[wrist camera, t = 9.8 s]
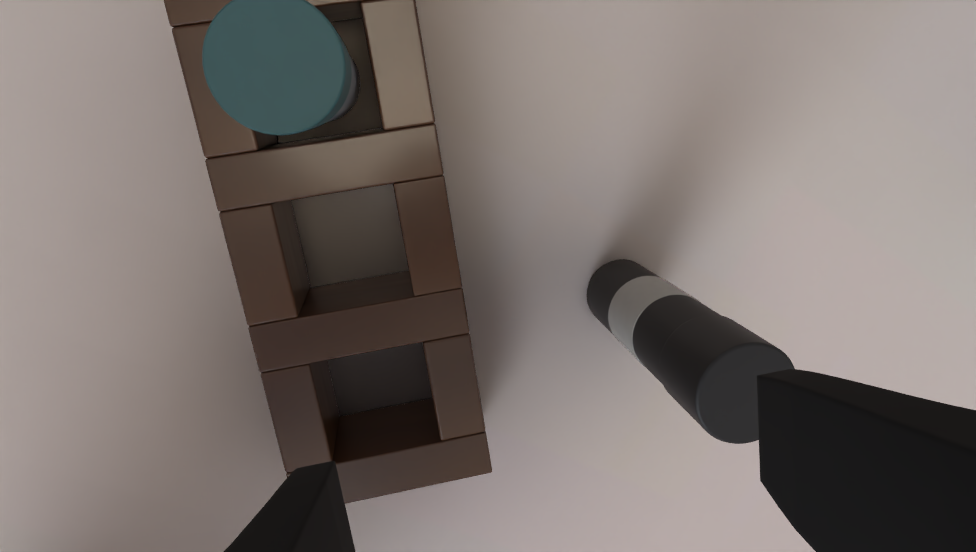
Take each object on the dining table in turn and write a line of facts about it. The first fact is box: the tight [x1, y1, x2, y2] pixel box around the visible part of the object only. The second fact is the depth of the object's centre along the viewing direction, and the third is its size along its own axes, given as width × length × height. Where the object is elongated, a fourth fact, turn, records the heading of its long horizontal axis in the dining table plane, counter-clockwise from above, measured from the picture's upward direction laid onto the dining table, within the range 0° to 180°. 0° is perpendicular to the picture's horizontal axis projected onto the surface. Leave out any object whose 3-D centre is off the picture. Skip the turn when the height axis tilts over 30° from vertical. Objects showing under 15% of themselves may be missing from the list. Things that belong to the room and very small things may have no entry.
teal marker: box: [202, 0, 360, 135], centre depth 15 cm, size 2×2×8 cm
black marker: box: [587, 260, 794, 444], centre depth 18 cm, size 2×2×8 cm
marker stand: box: [164, 0, 492, 503], centre depth 18 cm, size 14×6×3 cm, turn 9°
